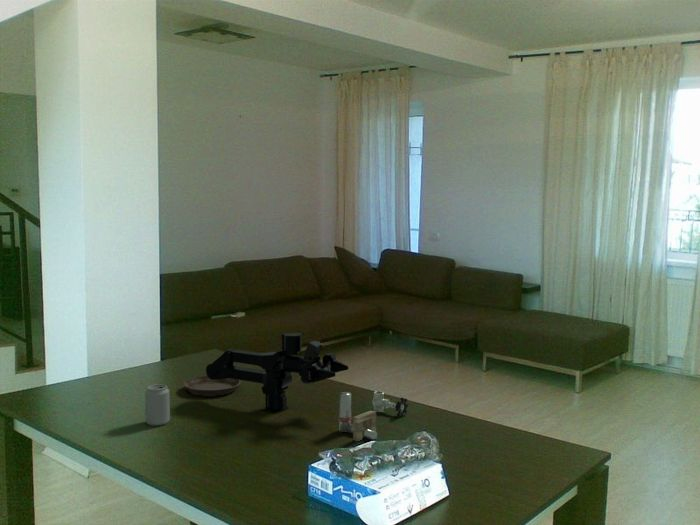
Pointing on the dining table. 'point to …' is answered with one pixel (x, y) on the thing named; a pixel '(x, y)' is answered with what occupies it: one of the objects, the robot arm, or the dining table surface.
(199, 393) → the plant saucer
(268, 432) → the dining table surface
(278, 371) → the robot arm
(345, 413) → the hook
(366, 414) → the beige arch block
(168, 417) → the can
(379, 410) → the valve
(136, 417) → the dining table surface
